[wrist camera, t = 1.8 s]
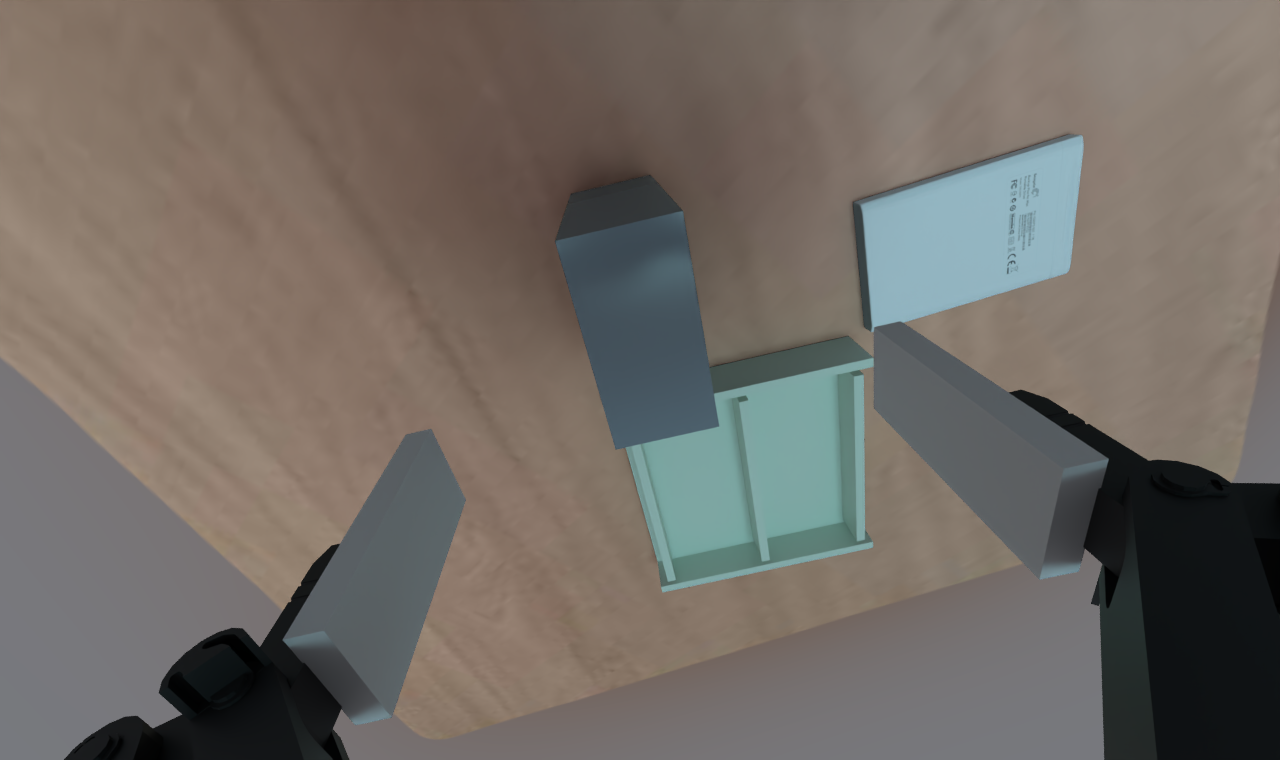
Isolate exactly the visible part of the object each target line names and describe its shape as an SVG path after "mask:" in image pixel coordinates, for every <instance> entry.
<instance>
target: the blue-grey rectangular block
mask: <svg viewBox="0 0 1280 760" xmlns="http://www.w3.org/2000/svg"><path fill="white" fill-rule="evenodd" d="M555 243H556V246H557V250H558V253H559V257H560V260H561V263H562V267H563V270H564V274H565V277H566V281H567V284H568V287H569V291H570V294H571V298H572V301H573V304H574V308H575V311H576V315H577V318H578V322H579V325H580V328H581V332H582V335H583V339H584V342H585V346H586V349H587V352H588V356H589V359H590V363H591V366H592V370H593V373H594V376H595V380H596V383H597V387H598V390H599V394H600V397H601V400H602V404H603V407H604V411H605V414H606V418H607V421H608V424H609V428H610V431H611V435H612V438H613V441H614V445H615V448H616V449H621V448H625V447H630V446H634V445H639V444H643V443H648V442H652V441H657V440H661V439H666V438H670V437H675V436H679V435H684V434H688V433H693V432H697V431H702V430H706V429H711V428H715V427H719V422H718V416H717V410H716V404H715V398H714V392H713V386H712V380H711V374H710V368H709V362H708V357H707V351H706V345H705V339H704V333H703V327H702V321H701V315H700V309H699V303H698V297H697V292H696V286H695V280H694V274H693V268H692V262H691V256H690V250H689V244H688V238H687V232H686V227H685V221H684V215H683V210H682V209H681V208H680V207H679V206H678V205H677V204H676V203H675V202H674V200H673V199H672V198H671V197H670V196H669V195H668V194H667V193H666V192H665V191H664V189H663V188H662V187H661V186H660V185H659V184H658V183H657V182H656V181H655V179H654V178H653V177H652V176H651V175H647V176H643V177H639V178H635V179H630V180H626V181H622V182H618V183H614V184H610V185H606V186H601V187H597V188H593V189H589V190H585V191H581V192H576V193H572V194H571V195H570V198H569V201H568V204H567V207H566V210H565V213H564V216H563V219H562V222H561V225H560V228H559V231H558V234H557V237H556V240H555Z"/></svg>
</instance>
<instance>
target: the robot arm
mask: <svg viewBox="0 0 1280 760" xmlns="http://www.w3.org/2000/svg"><path fill="white" fill-rule="evenodd" d="M874 409H875V410H876V411H877V412H878V413H879V414H880V415H881V416H882V417H883V418H884V419H885V420H886V421H887V422H888V423H889V424H890V425H891V426H892V427H893V428H894V430H895V431H896V432H897V433H898V434H899V435H900V436H901V437H902V438H903V439H904V440H905V441H906V442H907V443H908V444H909V445H910V446H911V447H912V448H913V449H914V450H915V451H916V452H917V453H918V454H919V455H920V456H921V457H922V459H923V460H924V461H925V462H926V463H927V464H928V465H929V466H930V467H931V468H932V469H933V470H934V471H935V472H936V473H937V474H938V475H939V476H940V477H941V478H942V479H943V480H944V481H945V482H946V483H947V484H948V485H949V487H950V488H951V489H952V490H953V491H954V492H955V493H956V494H957V495H958V496H959V497H960V498H961V499H962V500H963V501H964V502H965V503H966V504H967V505H968V506H969V507H970V508H971V509H972V510H973V511H974V512H975V513H976V514H977V516H978V517H979V518H980V519H981V520H982V521H983V522H984V523H985V524H986V525H987V526H988V527H989V528H990V529H991V530H992V531H993V532H994V533H995V534H996V535H997V536H998V537H999V538H1000V539H1001V540H1002V541H1003V542H1004V544H1005V545H1006V546H1007V547H1008V548H1009V549H1010V550H1011V551H1012V552H1013V553H1014V554H1015V555H1016V556H1017V557H1018V558H1019V559H1020V560H1021V561H1022V562H1023V563H1024V564H1025V565H1026V566H1027V567H1028V568H1029V569H1030V570H1031V571H1032V572H1033V574H1034V575H1035V576H1036V577H1037V578H1038V579H1039V580H1040V579H1045V578H1050V577H1054V576H1059V575H1064V574H1069V573H1074V572H1078V571H1079V569H1080V564H1081V561H1082V558H1083V554H1084V550H1085V549H1086V550H1087V551H1089V552H1090V553H1091V554H1092V555H1093V556H1094V557H1095V558H1097V559H1098V560H1099V561H1100V562H1101V563H1102V568H1101V572H1100V575H1099V578H1098V581H1097V585H1096V589H1095V592H1094V595H1093V598H1092V602H1091V604H1094V605H1097V606H1099V604H1100V629H1101V658H1102V659H1101V661H1102V695H1103V725H1104V726H1103V728H1104V758H1105V759H1104V760H1280V484H1272V483H1270V484H1268V483H1266V484H1265V483H1230V482H1229V481H1227V480H1226V479H1224V478H1223V477H1221V476H1220V475H1218V474H1216V473H1214V472H1212V471H1209V470H1207V469H1204V468H1202V467H1199V466H1196V465H1192V464H1187V463H1183V462H1179V461H1168V460H1152V461H1148V460H1147V459H1145V458H1143V457H1142V456H1140V455H1138V454H1137V453H1135V452H1134V451H1132V450H1130V449H1129V448H1127V447H1125V446H1124V445H1122V444H1121V443H1119V442H1117V441H1116V440H1114V439H1112V438H1111V437H1109V436H1108V435H1106V434H1104V433H1103V432H1101V431H1100V430H1098V429H1096V428H1095V427H1093V426H1091V425H1090V424H1085V421H1083V420H1082V419H1080V418H1078V417H1077V416H1075V415H1074V414H1069V413H1068V411H1067V410H1065V409H1064V408H1062V407H1061V406H1059V405H1057V404H1056V403H1054V402H1052V401H1051V400H1049V399H1048V398H1045V397H1042V396H1039V395H1036V394H1033V393H1030V392H1027V391H1024V390H1018V391H1013V392H1009V393H1008V392H1007V391H1005V390H1004V389H1002V388H1001V387H999V386H998V385H996V384H995V383H993V382H992V381H990V380H989V379H987V378H986V377H984V376H983V375H981V374H980V373H978V372H977V371H975V370H974V369H972V368H970V367H969V366H967V365H966V364H964V363H963V362H961V361H960V360H958V359H957V358H955V357H954V356H952V355H951V354H949V353H948V352H946V351H945V350H943V349H942V348H940V347H939V346H937V345H936V344H934V343H933V342H931V341H930V340H928V339H927V338H925V337H924V336H922V335H921V334H919V333H918V332H916V331H915V330H913V329H911V328H910V327H908V326H907V325H905V324H904V323H902V322H901V321H899V322H894V323H890V324H886V325H881V326H877V327H874ZM465 501H466V499H465V497H464V495H463V493H462V491H461V489H460V487H459V485H458V483H457V481H456V479H455V477H454V475H453V473H452V471H451V468H450V466H449V464H448V462H447V460H446V458H445V456H444V454H443V452H442V450H441V448H440V446H439V444H438V442H437V440H436V438H435V436H434V434H433V432H432V430H431V429H428V430H424V431H420V432H415V433H411V434H407V435H405V437H404V439H403V440H402V442H401V444H400V445H399V447H398V449H397V450H396V452H395V454H394V455H393V457H392V459H391V460H390V462H389V464H388V465H387V467H386V469H385V470H384V472H383V474H382V475H381V477H380V479H379V480H378V482H377V484H376V485H375V487H374V489H373V490H372V492H371V494H370V495H369V497H368V499H367V500H366V502H365V504H364V505H363V507H362V509H361V510H360V512H359V514H358V515H357V517H356V519H355V520H354V522H353V524H352V525H351V527H350V529H349V530H348V532H347V534H346V535H345V537H344V539H343V540H342V542H341V543H340V544H336V545H332V546H331V547H330V548H329V549H328V550H327V551H326V552H325V553H323V554H322V555H321V556H320V557H319V558H318V559H317V560H316V561H315V562H314V563H313V565H312V566H311V568H310V569H309V571H308V572H307V574H306V576H305V577H304V579H303V580H302V582H301V586H299V587H298V588H297V590H296V591H295V593H294V594H293V596H292V598H291V602H288V604H287V605H286V607H285V609H284V610H283V612H282V613H281V615H280V616H279V618H278V620H277V621H276V623H275V624H274V626H273V627H272V629H271V631H270V632H269V634H268V635H267V637H266V638H265V640H264V642H263V643H262V645H261V646H260V647H259V646H258V645H257V644H256V643H255V642H254V641H253V639H252V638H251V637H250V636H249V635H248V634H247V633H246V632H245V631H244V630H243V629H242V628H230V629H227V630H224V631H221V632H218V633H216V634H214V635H212V636H210V637H208V638H206V639H204V640H203V641H201V642H200V643H198V644H197V645H196V646H194V647H193V648H192V649H191V650H189V651H188V652H186V653H185V654H184V655H183V656H182V657H181V658H180V659H179V660H178V661H177V662H176V663H175V664H174V665H173V666H172V667H171V669H170V670H169V671H168V673H167V674H166V676H165V677H164V679H163V680H162V683H161V687H160V690H159V693H160V695H162V696H163V697H164V698H165V699H166V700H167V701H168V702H169V703H171V704H172V705H173V706H174V707H175V708H176V709H177V710H178V711H179V712H181V713H182V715H180V716H178V717H176V718H174V719H172V720H170V721H168V722H166V723H164V724H162V725H159V726H158V727H155V728H151V727H150V726H149V725H148V724H147V723H145V722H144V721H143V720H142V719H140V718H139V717H138V716H129V717H124V718H121V719H119V720H116V721H114V722H112V723H109V724H108V725H106V726H105V727H103V728H101V729H100V730H98V731H97V732H95V733H93V734H91V735H90V736H89V737H88V738H86V739H85V740H84V741H83V742H82V743H80V744H79V745H78V746H77V747H75V749H73V750H72V751H71V752H70V754H69V755H68V756H67V757H66V758H65V759H64V760H349V758H348V755H347V753H346V750H345V748H344V745H343V743H342V740H341V738H340V737H339V736H338V735H337V733H336V732H335V731H334V730H333V727H334V724H335V722H336V720H337V718H338V715H339V713H340V710H341V709H342V710H343V711H344V713H345V714H346V715H347V716H348V717H349V719H350V720H351V721H352V722H353V723H354V724H355V725H359V724H364V723H369V722H373V721H378V720H383V719H387V718H391V717H392V715H393V712H394V709H395V706H396V703H397V700H398V697H399V694H400V692H401V689H402V686H403V683H404V680H405V677H406V674H407V671H408V668H409V665H410V662H411V659H412V656H413V653H414V651H415V648H416V645H417V642H418V639H419V636H420V633H421V630H422V627H423V624H424V621H425V618H426V615H427V612H428V609H429V607H430V604H431V601H432V598H433V595H434V592H435V589H436V586H437V583H438V580H439V577H440V574H441V571H442V568H443V565H444V563H445V560H446V557H447V554H448V551H449V548H450V545H451V542H452V539H453V536H454V533H455V530H456V527H457V524H458V521H459V519H460V516H461V513H462V510H463V507H464V504H465Z"/></svg>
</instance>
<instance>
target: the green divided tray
mask: <svg viewBox="0 0 1280 760" xmlns="http://www.w3.org/2000/svg"><path fill="white" fill-rule="evenodd" d="M869 367H873V357H872V356H871V355H870V354H869V353H867V352H866V351H865V350H864V349H863V348H862V347H861V346H859V345H858V344H857V343H856V342H855V341H854V340H853V339H851V338H850V337H849V336H846V337H842V338H838V339H833V340H829V341H824V342H820V343H816V344H811V345H807V346H802V347H798V348H794V349H789V350H785V351H780V352H776V353H772V354H767V355H763V356H758V357H754V358H749V359H745V360H741V361H736V362H732V363H727V364H723V365H719V366H714V367H710V374H711V380H712V386H713V392H714V398H715V404H716V410H717V416H718V422H719V427H715V428H711V429H706V430H702V431H697V432H693V433H688V434H684V435H679V436H675V437H670V438H666V439H661V440H657V441H652V442H648V443H643V444H639V445H634V446H630V447H626V450H627V454H628V457H629V461H630V465H631V468H632V472H633V475H634V479H635V482H636V486H637V490H638V493H639V497H640V500H641V504H642V507H643V511H644V515H645V518H646V522H647V525H648V529H649V532H650V536H651V540H652V543H653V547H654V550H655V554H656V557H657V561H658V567H659V575H660V582H661V588H662V592H667V591H671V590H676V589H681V588H686V587H690V586H695V585H700V584H704V583H709V582H714V581H718V580H723V579H728V578H732V577H737V576H742V575H747V574H751V573H756V572H761V571H765V570H770V569H775V568H779V567H784V566H789V565H793V564H798V563H803V562H808V561H812V560H817V559H822V558H826V557H831V556H836V555H840V554H845V553H850V552H854V551H859V550H864V549H869V548H873V541H872V539H871V538H870V536H869V535H868V533H867V532H866V530H865V481H864V374H863V373H862V372H860V371H859V370H861V369H865V368H869Z"/></svg>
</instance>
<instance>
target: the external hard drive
mask: <svg viewBox="0 0 1280 760" xmlns="http://www.w3.org/2000/svg"><path fill="white" fill-rule="evenodd" d="M1083 147H1084V144H1083V137H1082V135H1072V134H1069V135H1065V136H1062V137H1059V138H1056V139H1053V140H1049V141H1046V142H1043V143H1040V144H1037V145H1034V146H1031V147H1027V148H1024V149H1021V150H1018V151H1015V152H1012V153H1008V154H1005V155H1002V156H998V157H995V158H992V159H989V160H985V161H982V162H979V163H976V164H973V165H969V166H966V167H963V168H960V169H957V170H954V171H950V172H947V173H944V174H941V175H938V176H935V177H932V178H928V179H925V180H922V181H919V182H915V183H912V184H909V185H906V186H902V187H899V188H896V189H893V190H890V191H886V192H883V193H880V194H877V195H874V196H870V197H867V198H864V199H861V200H858V201H855V202H853V211H854V221H855V232H856V243H857V254H858V265H859V275H860V286H861V298H862V309H863V320H864V327H865V328H866V329H868V330H869V331H870V332H874V327H877V326H881V325H886V324H890V323H894V322H899V321H901V322H902V323H904V322H907V321H910V320H914V319H917V318H920V317H924V316H927V315H930V314H934V313H937V312H940V311H943V310H947V309H950V308H953V307H957V306H960V305H963V304H967V303H970V302H973V301H977V300H980V299H983V298H987V297H990V296H993V295H996V294H1000V293H1003V292H1007V291H1010V290H1013V289H1016V288H1020V287H1023V286H1026V285H1030V284H1033V283H1036V282H1039V281H1043V280H1046V279H1050V278H1053V277H1056V276H1059V275H1063V274H1066V273H1067V272H1068V271H1069V269H1070V264H1071V255H1072V246H1073V236H1074V226H1075V217H1076V209H1077V201H1078V192H1079V182H1080V173H1081V165H1082V157H1083Z"/></svg>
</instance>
